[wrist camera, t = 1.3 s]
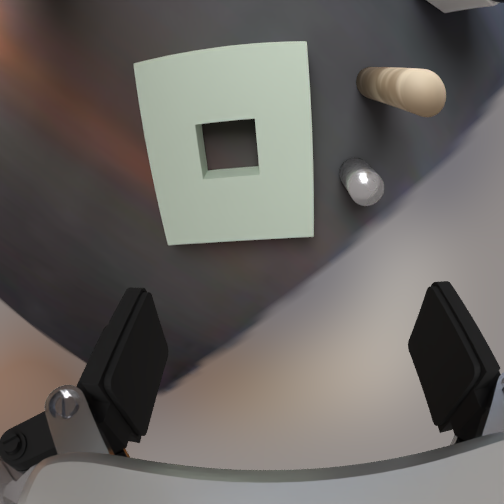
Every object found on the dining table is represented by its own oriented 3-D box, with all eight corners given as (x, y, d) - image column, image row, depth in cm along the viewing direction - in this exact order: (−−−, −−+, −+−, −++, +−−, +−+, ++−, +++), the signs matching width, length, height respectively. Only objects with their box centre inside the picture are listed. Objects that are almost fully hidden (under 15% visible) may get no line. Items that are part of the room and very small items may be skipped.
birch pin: (355, 66, 27) (403, 66, 16) (387, 68, 26) (446, 72, 16) (356, 98, 28) (403, 115, 18) (388, 100, 28) (445, 119, 18)
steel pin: (339, 157, 32) (350, 171, 28) (369, 157, 32) (385, 171, 28) (338, 187, 34) (349, 206, 30) (368, 187, 34) (382, 205, 29)
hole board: (144, 63, 27) (133, 63, 24) (302, 44, 26) (306, 41, 23) (174, 232, 38) (168, 245, 35) (310, 223, 36) (313, 236, 34)
